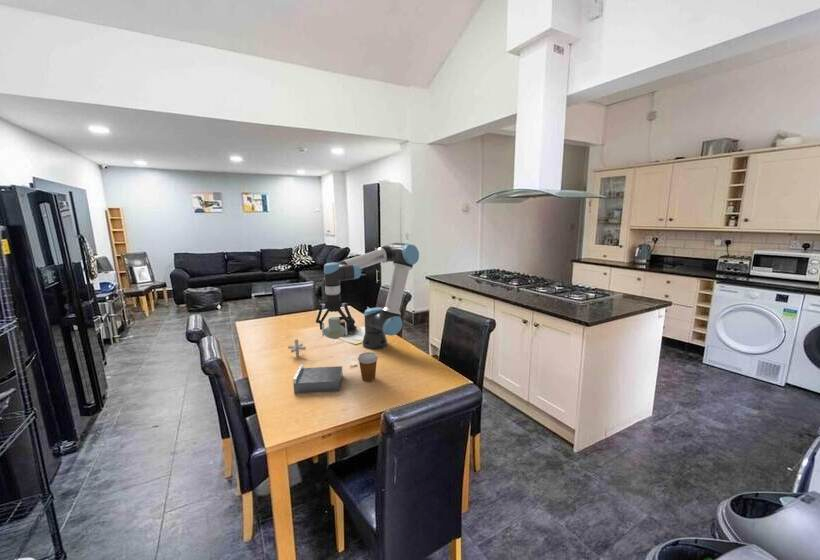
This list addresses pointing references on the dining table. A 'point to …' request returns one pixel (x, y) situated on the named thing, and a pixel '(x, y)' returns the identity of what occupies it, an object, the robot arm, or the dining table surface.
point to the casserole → (351, 325)
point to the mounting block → (317, 379)
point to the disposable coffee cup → (368, 366)
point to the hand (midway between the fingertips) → (335, 335)
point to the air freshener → (334, 328)
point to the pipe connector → (296, 347)
